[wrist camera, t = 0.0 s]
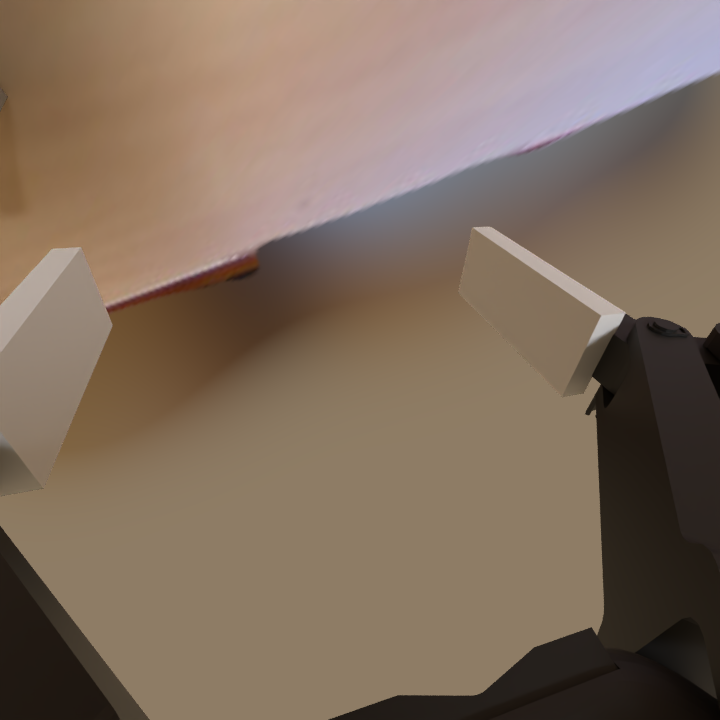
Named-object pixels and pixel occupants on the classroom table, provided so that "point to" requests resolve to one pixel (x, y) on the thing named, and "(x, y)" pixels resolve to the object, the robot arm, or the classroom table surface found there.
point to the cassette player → (2, 98)
